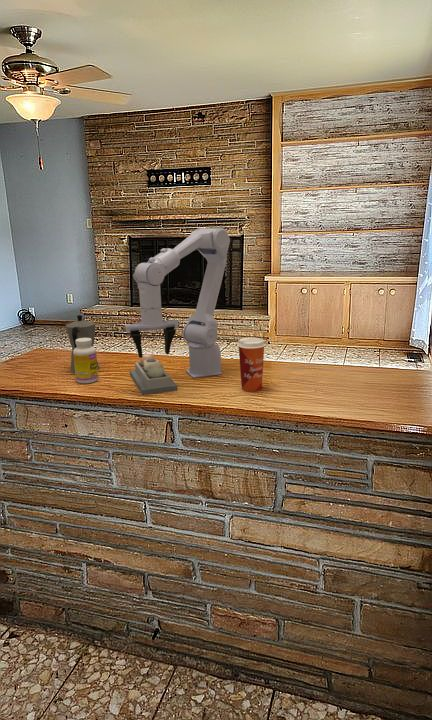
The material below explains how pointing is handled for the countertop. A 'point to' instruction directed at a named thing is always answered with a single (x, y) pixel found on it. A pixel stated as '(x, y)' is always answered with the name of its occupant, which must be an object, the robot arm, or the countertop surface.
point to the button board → (151, 381)
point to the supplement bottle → (85, 361)
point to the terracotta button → (145, 358)
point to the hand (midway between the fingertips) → (153, 355)
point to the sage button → (155, 371)
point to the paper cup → (251, 363)
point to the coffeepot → (80, 334)
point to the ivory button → (149, 363)
